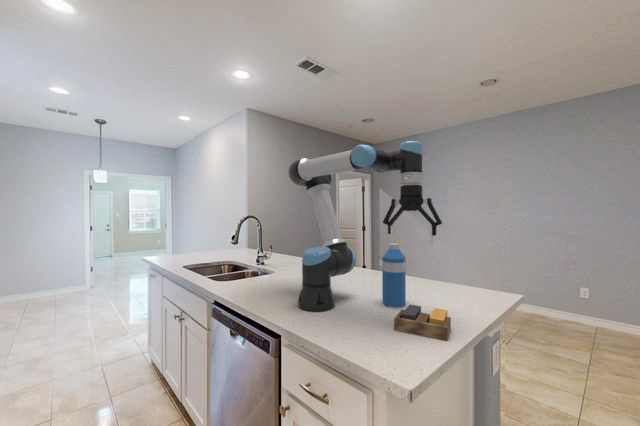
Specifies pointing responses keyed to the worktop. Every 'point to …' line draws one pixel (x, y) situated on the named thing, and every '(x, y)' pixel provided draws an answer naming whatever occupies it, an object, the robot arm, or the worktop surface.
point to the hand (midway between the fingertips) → (411, 244)
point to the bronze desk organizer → (423, 326)
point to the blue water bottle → (393, 277)
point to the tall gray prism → (411, 312)
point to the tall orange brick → (438, 316)
